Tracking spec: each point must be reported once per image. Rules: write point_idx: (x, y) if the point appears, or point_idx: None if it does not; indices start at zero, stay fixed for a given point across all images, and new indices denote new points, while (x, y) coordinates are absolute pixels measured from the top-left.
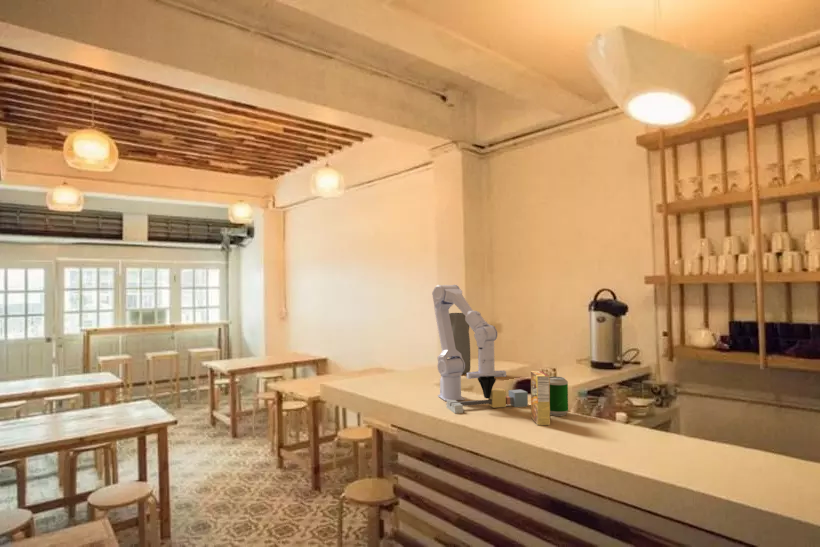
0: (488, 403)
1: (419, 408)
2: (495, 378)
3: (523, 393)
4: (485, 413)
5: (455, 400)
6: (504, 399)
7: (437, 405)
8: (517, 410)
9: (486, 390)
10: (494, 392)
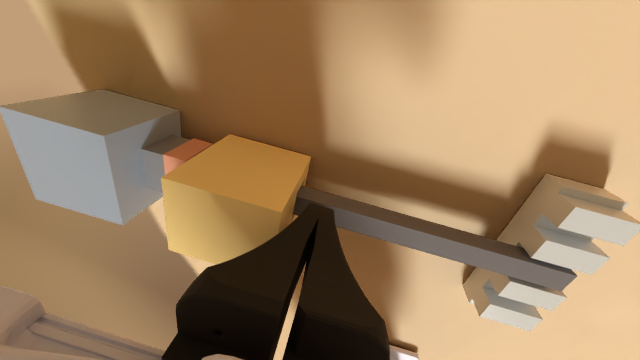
0: (321, 191)
1: (629, 350)
2: (179, 305)
3: (41, 114)
4: (438, 83)
5: (492, 304)
6: (215, 152)
7: (504, 337)
8: (200, 32)
9: (332, 243)
10: (268, 202)
